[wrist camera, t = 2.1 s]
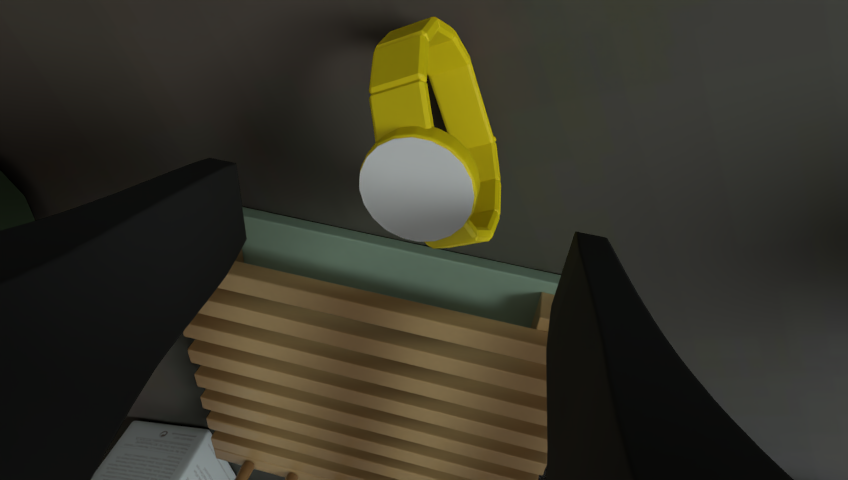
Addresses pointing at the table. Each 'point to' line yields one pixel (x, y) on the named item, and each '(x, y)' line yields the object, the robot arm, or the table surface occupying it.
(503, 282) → the dish rack
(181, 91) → the table surface
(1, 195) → the character mug
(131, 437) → the small box
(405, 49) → the watch
